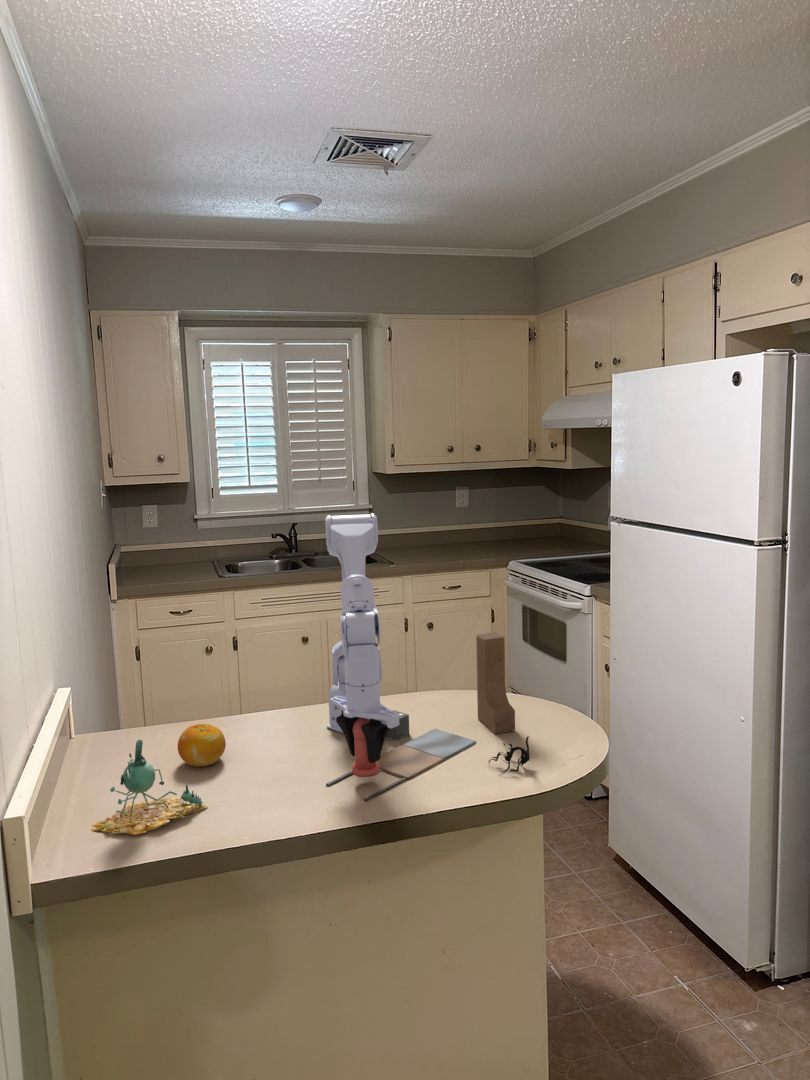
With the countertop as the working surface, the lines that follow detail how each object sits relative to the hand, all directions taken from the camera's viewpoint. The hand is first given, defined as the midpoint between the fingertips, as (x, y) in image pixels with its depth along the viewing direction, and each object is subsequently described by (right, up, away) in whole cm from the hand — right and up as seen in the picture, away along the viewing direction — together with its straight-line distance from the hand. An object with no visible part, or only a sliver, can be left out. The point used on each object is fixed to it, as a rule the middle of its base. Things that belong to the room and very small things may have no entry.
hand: (365, 757), depth 136 cm
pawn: (0, -2, 0) cm, 2 cm away
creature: (+25, -3, +5) cm, 26 cm away
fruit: (-31, -4, +11) cm, 33 cm away
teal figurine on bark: (-34, -8, -10) cm, 36 cm away
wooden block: (+25, 0, +24) cm, 35 cm away
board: (+7, -3, +8) cm, 11 cm away
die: (+5, -1, +21) cm, 21 cm away
